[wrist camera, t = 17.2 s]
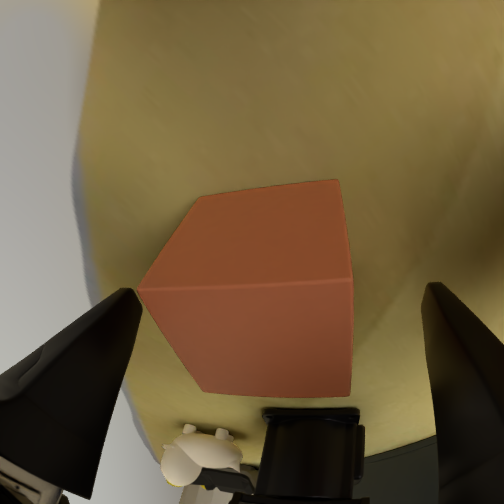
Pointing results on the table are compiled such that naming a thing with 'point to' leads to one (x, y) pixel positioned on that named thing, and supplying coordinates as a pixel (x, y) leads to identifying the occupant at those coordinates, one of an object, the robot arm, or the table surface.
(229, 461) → the toy creature
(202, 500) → the jar
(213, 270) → the block
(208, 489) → the gaming controller
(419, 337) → the table surface
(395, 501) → the small filing cabinet
